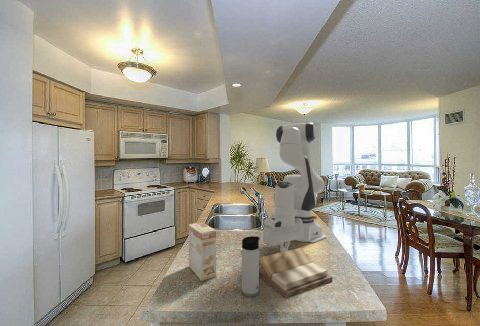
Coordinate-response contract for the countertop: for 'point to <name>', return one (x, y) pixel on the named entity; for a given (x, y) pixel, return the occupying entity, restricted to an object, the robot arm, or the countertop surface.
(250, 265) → the travel mug
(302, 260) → the honey oak plank
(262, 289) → the countertop surface
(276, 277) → the pale ash plank
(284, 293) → the walnut board
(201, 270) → the coffeecake box
